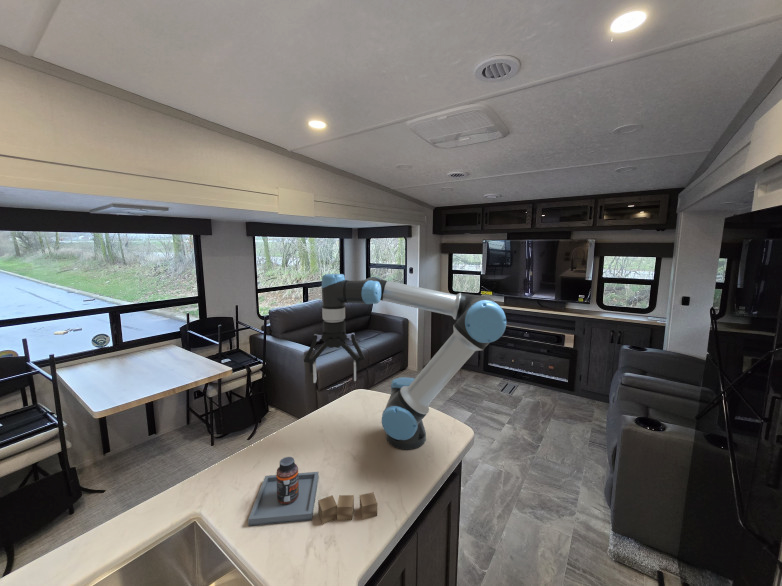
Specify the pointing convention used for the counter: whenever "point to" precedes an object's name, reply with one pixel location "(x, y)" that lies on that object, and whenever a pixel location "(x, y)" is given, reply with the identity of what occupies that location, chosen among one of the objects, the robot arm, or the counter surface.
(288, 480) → the supplement bottle
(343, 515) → the block
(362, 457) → the counter surface
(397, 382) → the robot arm
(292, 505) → the tray
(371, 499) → the block
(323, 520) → the block
